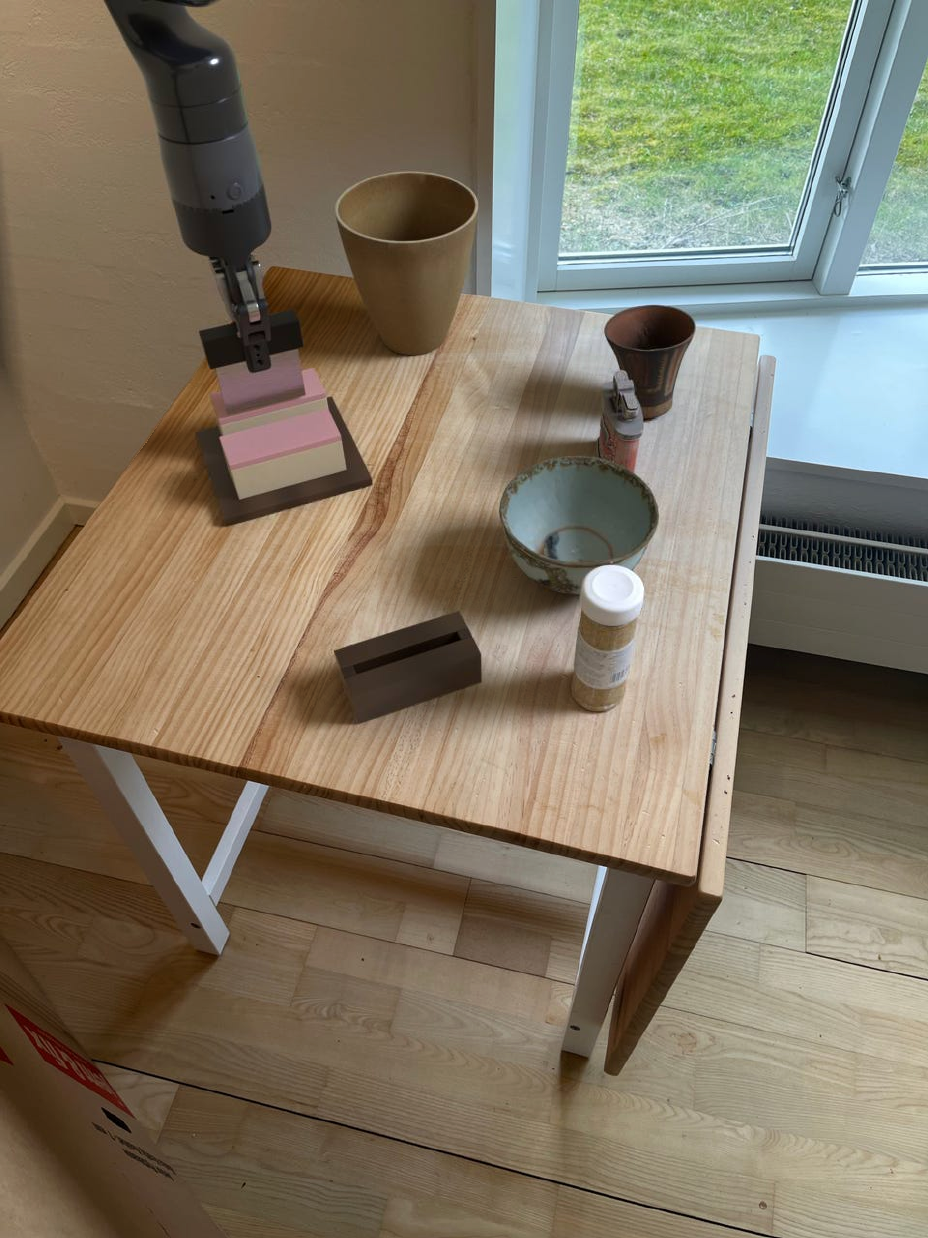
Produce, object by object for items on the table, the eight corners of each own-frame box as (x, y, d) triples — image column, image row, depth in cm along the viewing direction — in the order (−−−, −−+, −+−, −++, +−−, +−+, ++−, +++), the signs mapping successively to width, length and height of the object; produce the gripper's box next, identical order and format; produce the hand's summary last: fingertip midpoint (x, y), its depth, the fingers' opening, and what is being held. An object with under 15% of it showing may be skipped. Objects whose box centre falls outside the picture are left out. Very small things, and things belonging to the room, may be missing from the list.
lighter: (590, 441, 98) (598, 360, 91) (622, 438, 98) (633, 357, 91) (606, 495, 93) (616, 414, 86) (640, 491, 93) (653, 411, 86)
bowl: (541, 648, 82) (545, 587, 76) (474, 545, 89) (473, 483, 83) (676, 594, 85) (690, 532, 79) (600, 500, 93) (607, 437, 87)
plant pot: (453, 386, 105) (447, 252, 92) (331, 360, 108) (309, 227, 96) (497, 312, 113) (497, 180, 101) (382, 290, 117) (369, 160, 104)
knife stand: (357, 724, 77) (351, 697, 74) (339, 678, 80) (333, 650, 77) (482, 682, 80) (481, 654, 77) (460, 638, 83) (459, 609, 79)
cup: (609, 370, 106) (618, 289, 98) (689, 386, 104) (705, 305, 96) (586, 418, 101) (594, 337, 93) (670, 437, 98) (685, 355, 91)
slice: (228, 454, 97) (218, 420, 93) (219, 428, 100) (208, 393, 96) (331, 427, 99) (325, 392, 96) (319, 402, 102) (313, 367, 98)
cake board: (226, 526, 92) (223, 519, 91) (196, 439, 100) (194, 431, 99) (372, 484, 95) (371, 477, 94) (333, 403, 103) (331, 395, 103)
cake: (239, 500, 93) (229, 465, 89) (229, 471, 95) (218, 436, 92) (346, 470, 95) (341, 435, 92) (333, 442, 98) (327, 407, 94)
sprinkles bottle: (606, 661, 81) (623, 554, 70) (635, 701, 78) (657, 596, 68) (559, 681, 80) (569, 575, 69) (587, 722, 77) (602, 618, 66)
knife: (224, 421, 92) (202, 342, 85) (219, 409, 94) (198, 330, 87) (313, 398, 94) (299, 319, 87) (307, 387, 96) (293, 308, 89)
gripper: (154, 153, 80) (203, 331, 93) (186, 231, 72) (234, 414, 85) (241, 137, 82) (276, 314, 95) (282, 211, 73) (314, 393, 87)
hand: (256, 360), depth 90 cm, fingers closed on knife, 2 cm apart
